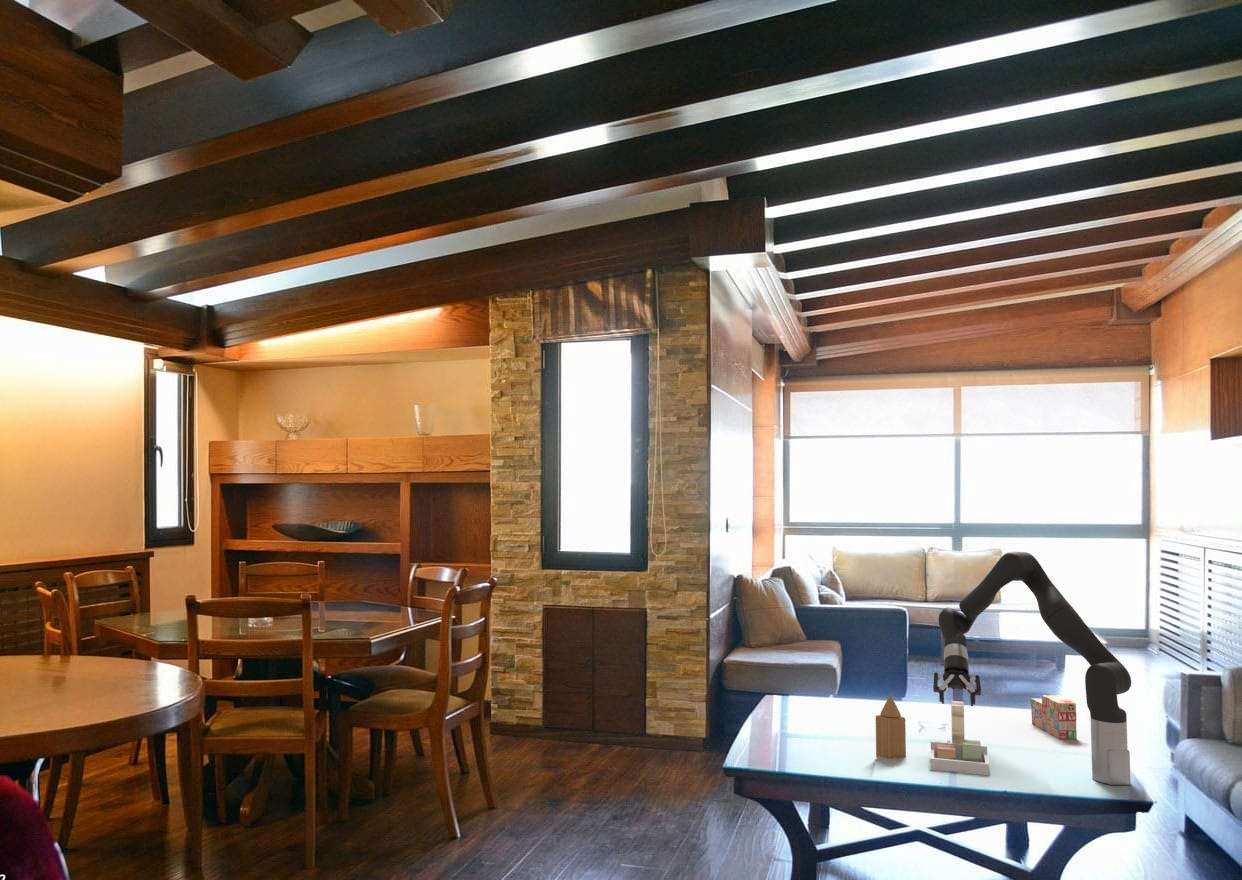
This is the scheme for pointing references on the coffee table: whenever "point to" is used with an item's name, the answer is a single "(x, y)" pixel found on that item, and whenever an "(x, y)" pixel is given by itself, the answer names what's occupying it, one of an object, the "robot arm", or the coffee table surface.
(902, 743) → the decorative item
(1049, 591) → the robot arm
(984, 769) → the white tray
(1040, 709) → the stack of blocks
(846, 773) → the coffee table surface
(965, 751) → the offcut tall
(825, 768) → the coffee table surface
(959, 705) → the birch board
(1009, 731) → the coffee table surface
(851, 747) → the coffee table surface
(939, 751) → the offcut short
